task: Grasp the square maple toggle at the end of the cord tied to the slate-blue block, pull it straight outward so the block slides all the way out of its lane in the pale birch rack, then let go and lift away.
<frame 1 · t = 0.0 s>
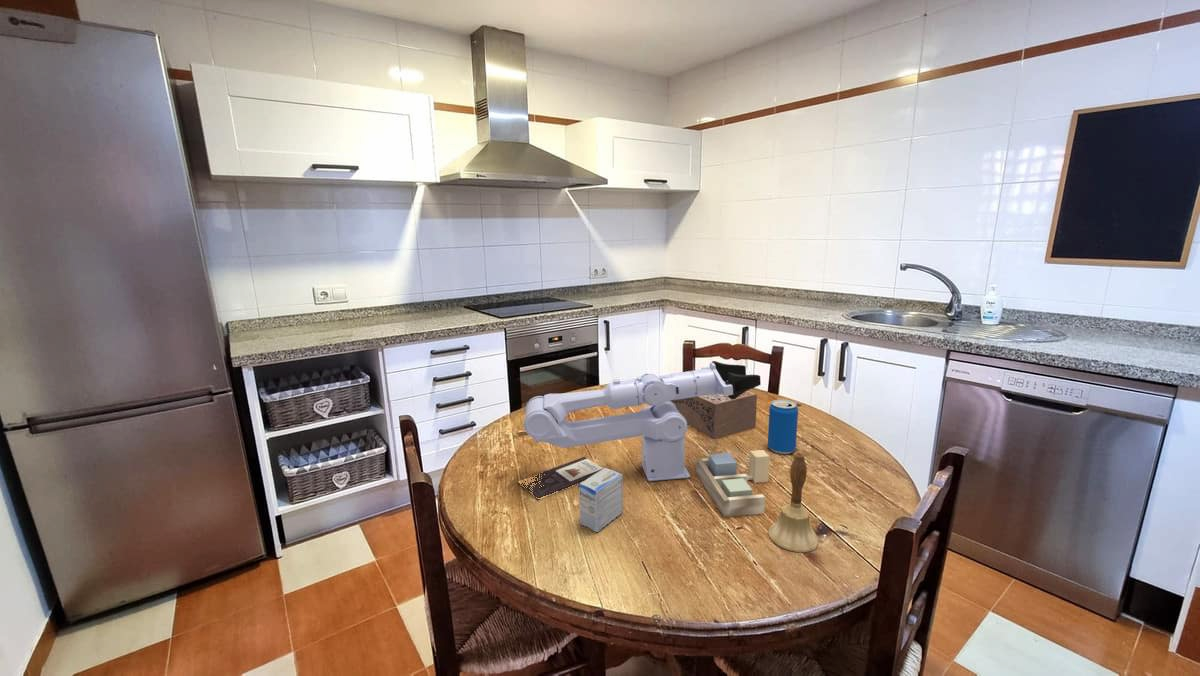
hand: (752, 374, 105), 22 cm above the table, tool horizontal, fingers open, 7 cm apart
hand bell: (793, 538, 83), on the table
corded block: (722, 481, 102), on the table
beverage can: (781, 450, 116), on the table
rack: (727, 491, 98), on the table
plain block: (736, 502, 94), on the table
tissue box cover: (704, 419, 137), on the table
medicine box: (602, 520, 90), on the table
chocolate bar: (563, 480, 106), on the table
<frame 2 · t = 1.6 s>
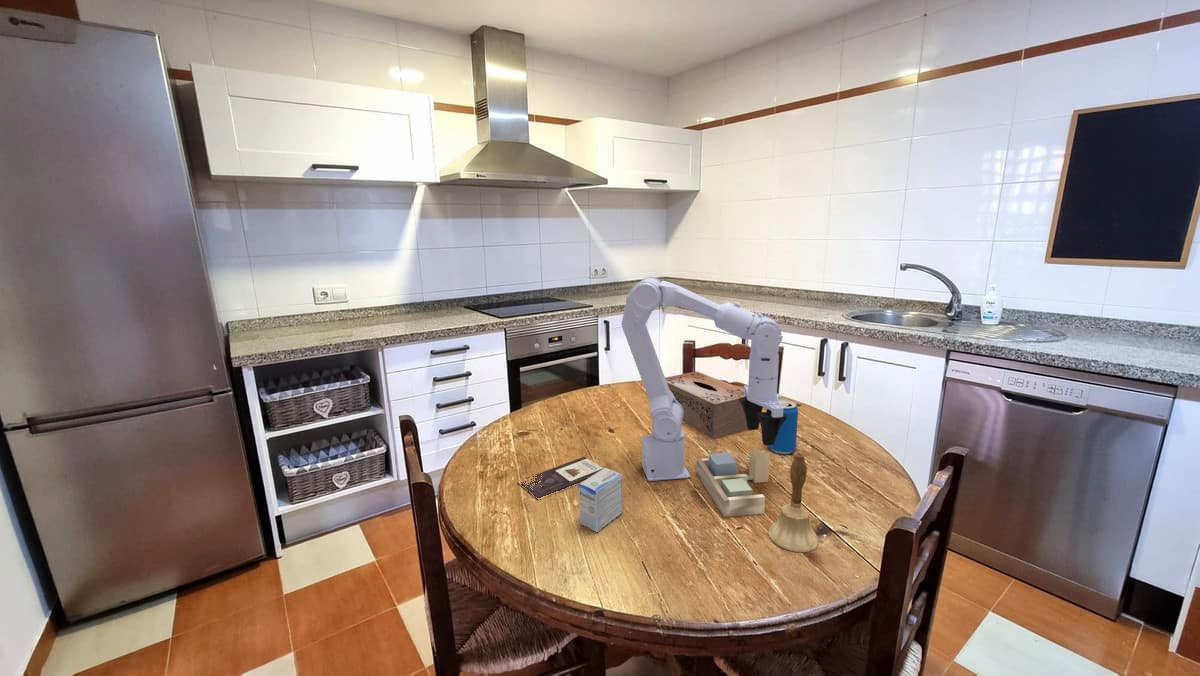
hand: (760, 436, 101), 10 cm above the table, tool pointing down, fingers open, 7 cm apart
nothing on the table moved.
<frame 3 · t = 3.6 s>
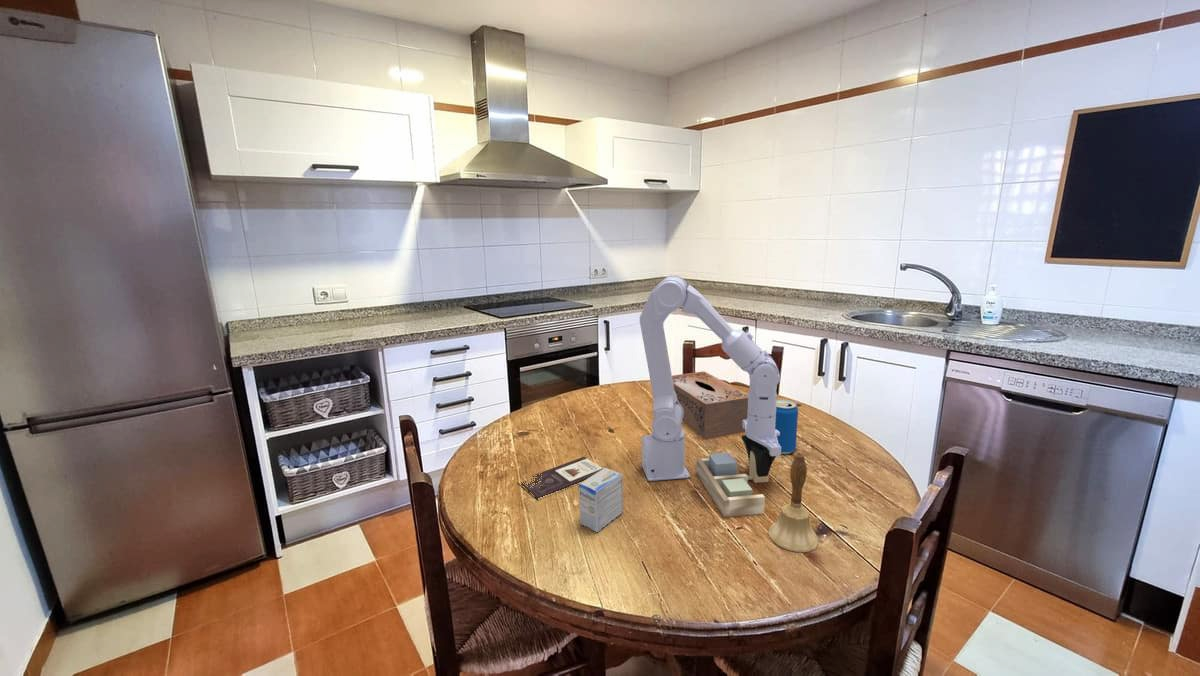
hand: (758, 471, 103), 2 cm above the table, tool pointing down, fingers closed on corded block, 3 cm apart
corded block: (722, 481, 102), on the table, touching gripper
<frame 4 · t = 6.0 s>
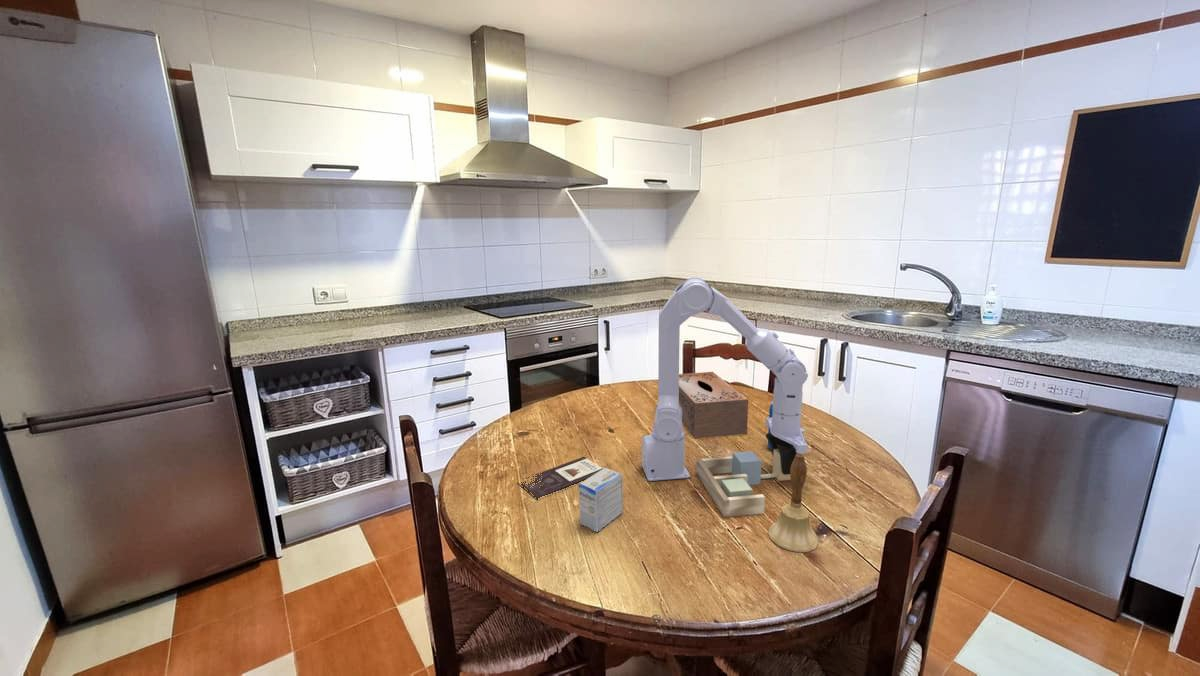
hand: (783, 469, 103), 2 cm above the table, tool pointing down, fingers closed on corded block, 3 cm apart
corded block: (745, 479, 103), on the table, touching gripper
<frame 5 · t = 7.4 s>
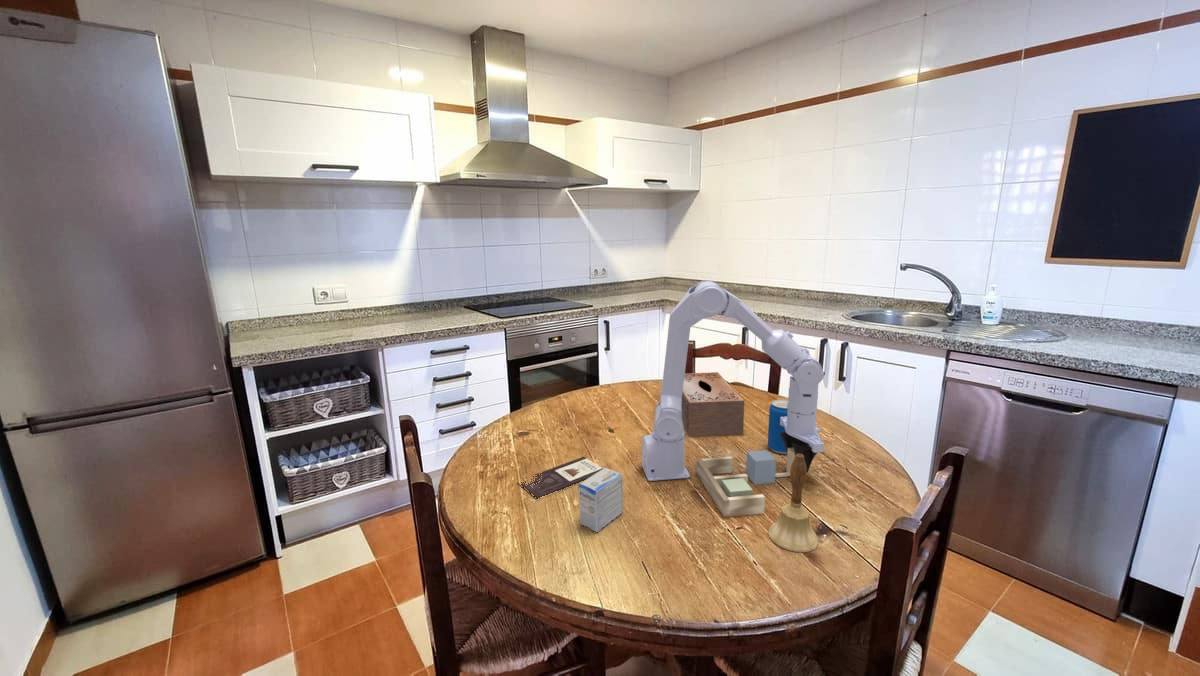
hand: (798, 468, 103), 2 cm above the table, tool pointing down, fingers closed on corded block, 3 cm apart
corded block: (760, 478, 103), on the table, touching gripper
when the fingers open (2 cm above the table, at t = 8.3 s): corded block stays where it is, on the table.
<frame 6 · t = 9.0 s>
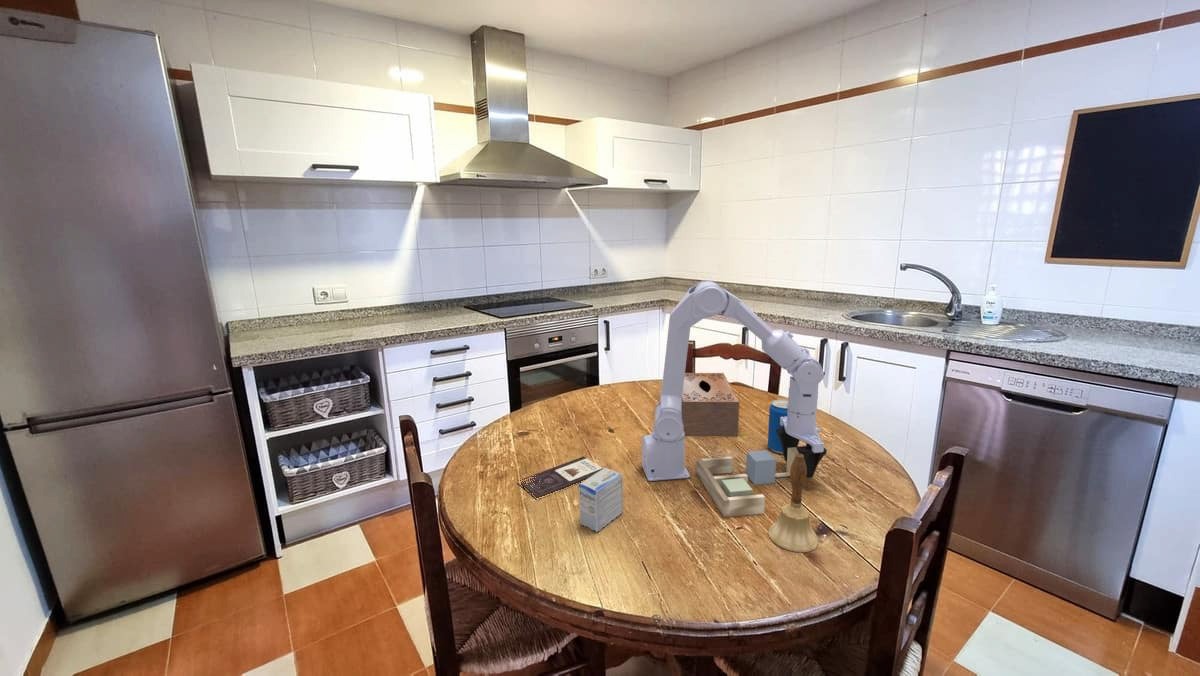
hand: (798, 468, 103), 2 cm above the table, tool pointing down, fingers open, 7 cm apart
corded block: (760, 478, 103), on the table
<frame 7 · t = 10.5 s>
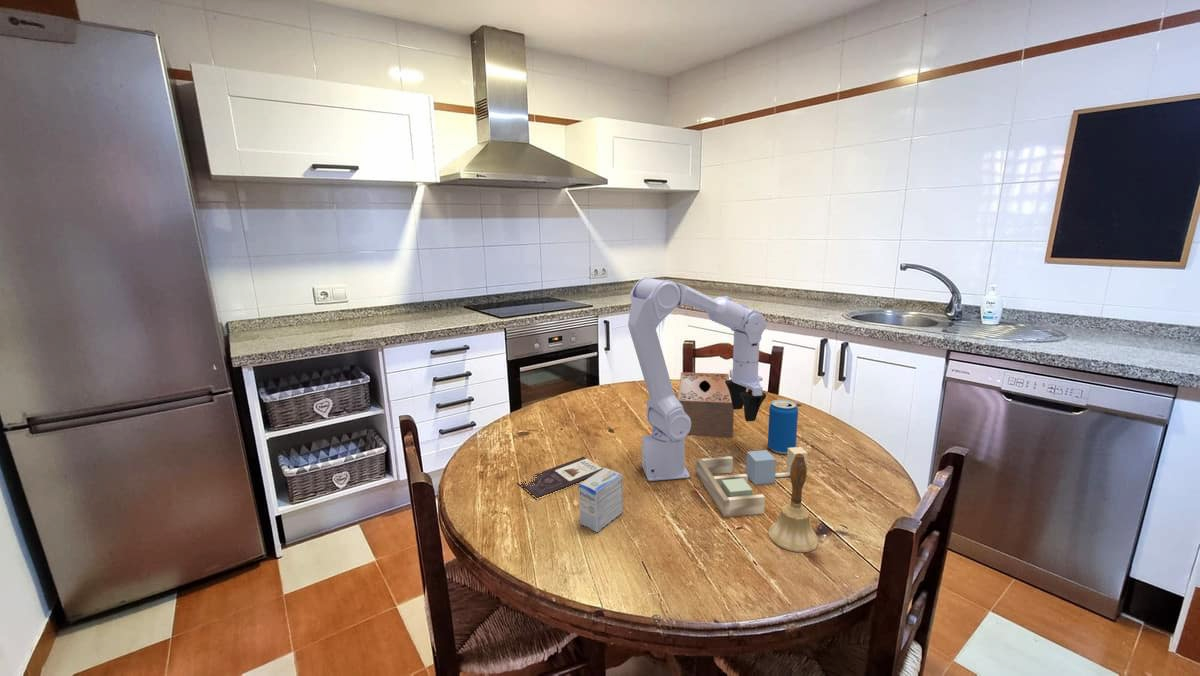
hand: (743, 414, 113), 10 cm above the table, tool pointing down, fingers open, 7 cm apart
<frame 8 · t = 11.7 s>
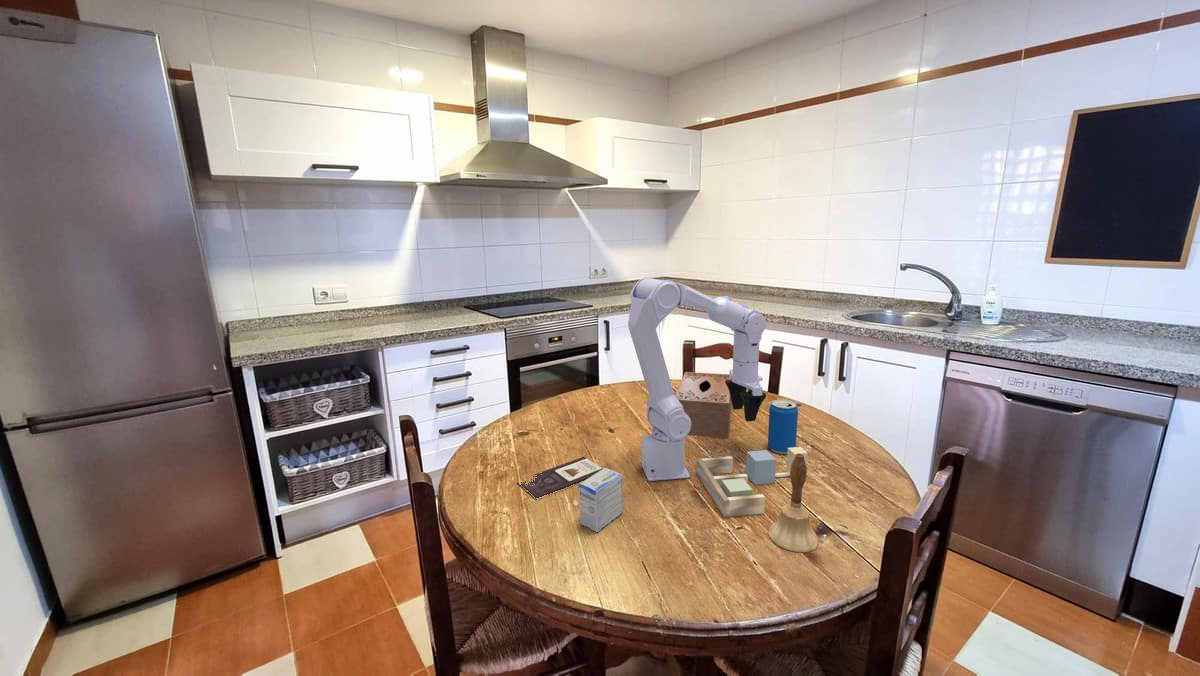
hand: (743, 414, 113), 10 cm above the table, tool pointing down, fingers open, 7 cm apart
at the end: corded block inside the target area (5.6 cm from its centre), on the table; corded block tilted 0°; the gripper is holding nothing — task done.
